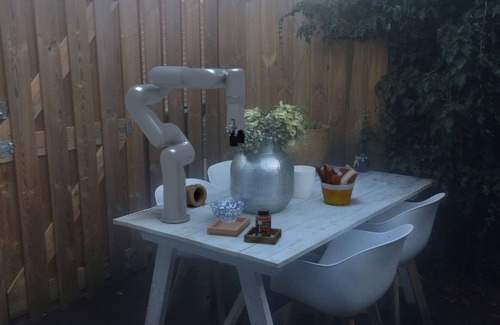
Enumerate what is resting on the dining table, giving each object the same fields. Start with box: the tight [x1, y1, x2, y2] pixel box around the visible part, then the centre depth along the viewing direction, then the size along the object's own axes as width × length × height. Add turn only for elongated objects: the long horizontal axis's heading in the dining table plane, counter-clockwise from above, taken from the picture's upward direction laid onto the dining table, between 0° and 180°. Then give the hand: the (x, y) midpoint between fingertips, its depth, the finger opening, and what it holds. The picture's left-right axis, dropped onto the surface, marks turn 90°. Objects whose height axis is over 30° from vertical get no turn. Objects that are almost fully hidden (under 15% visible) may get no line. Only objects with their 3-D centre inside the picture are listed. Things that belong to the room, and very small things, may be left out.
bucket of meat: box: [315, 163, 359, 206], centre depth 248 cm, size 20×16×20 cm
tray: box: [206, 216, 251, 238], centre depth 209 cm, size 18×12×3 cm, turn 164°
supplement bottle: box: [254, 207, 272, 237], centre depth 196 cm, size 6×6×11 cm
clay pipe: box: [186, 183, 208, 208], centre depth 248 cm, size 19×11×15 cm
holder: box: [243, 226, 283, 246], centre depth 197 cm, size 12×12×2 cm
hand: (237, 144), depth 205 cm, fingers open, 9 cm apart
